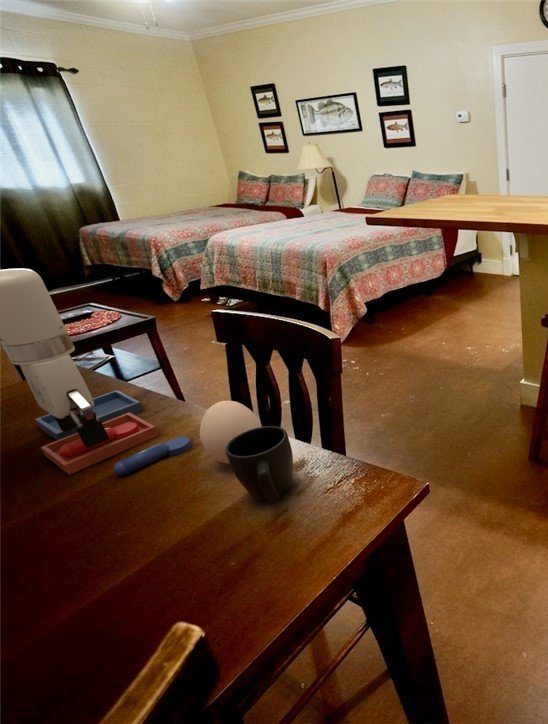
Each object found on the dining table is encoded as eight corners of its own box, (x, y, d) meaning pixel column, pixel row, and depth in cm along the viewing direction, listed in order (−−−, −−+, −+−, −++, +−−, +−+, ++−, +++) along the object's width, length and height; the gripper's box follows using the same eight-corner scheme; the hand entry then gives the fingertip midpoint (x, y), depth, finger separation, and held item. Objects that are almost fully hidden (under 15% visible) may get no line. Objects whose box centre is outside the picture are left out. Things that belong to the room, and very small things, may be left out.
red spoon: (68, 463, 81) (62, 452, 80) (58, 456, 82) (52, 445, 81) (143, 431, 89) (139, 420, 88) (133, 425, 91) (128, 414, 90)
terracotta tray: (69, 474, 79) (64, 465, 78) (45, 456, 83) (40, 447, 82) (158, 435, 89) (155, 426, 88) (133, 420, 94) (129, 412, 93)
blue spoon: (122, 481, 77) (116, 470, 76) (111, 474, 79) (105, 462, 78) (196, 446, 86) (191, 435, 85) (184, 439, 88) (180, 429, 87)
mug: (244, 532, 67) (224, 479, 63) (242, 484, 76) (225, 435, 72) (307, 511, 71) (292, 459, 67) (298, 467, 80) (284, 420, 76)
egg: (279, 447, 85) (263, 392, 80) (243, 478, 78) (223, 419, 73) (238, 442, 87) (219, 387, 82) (199, 472, 79) (175, 414, 74)
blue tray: (60, 443, 87) (56, 434, 86) (39, 427, 91) (34, 419, 91) (143, 410, 97) (140, 401, 96) (120, 397, 102) (117, 389, 101)
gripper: (-11, 344, 77) (38, 432, 84) (29, 367, 69) (79, 461, 77) (49, 329, 83) (90, 412, 90) (92, 349, 75) (133, 438, 83)
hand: (85, 435), depth 83 cm, fingers open, 9 cm apart
